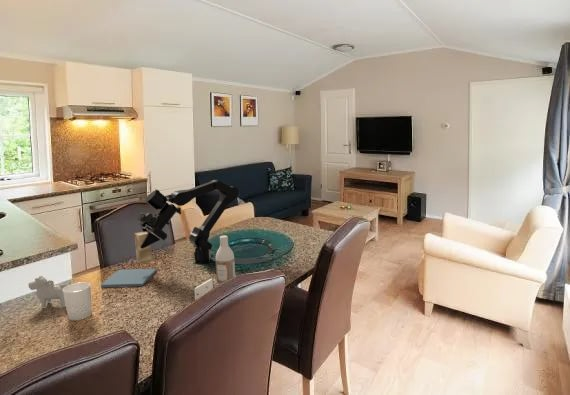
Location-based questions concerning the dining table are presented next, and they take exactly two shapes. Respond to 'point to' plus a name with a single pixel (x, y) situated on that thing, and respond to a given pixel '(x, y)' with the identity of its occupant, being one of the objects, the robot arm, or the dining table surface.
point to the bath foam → (224, 261)
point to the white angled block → (203, 288)
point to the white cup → (78, 300)
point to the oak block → (144, 253)
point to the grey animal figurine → (47, 290)
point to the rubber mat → (129, 278)
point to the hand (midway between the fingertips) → (139, 246)
